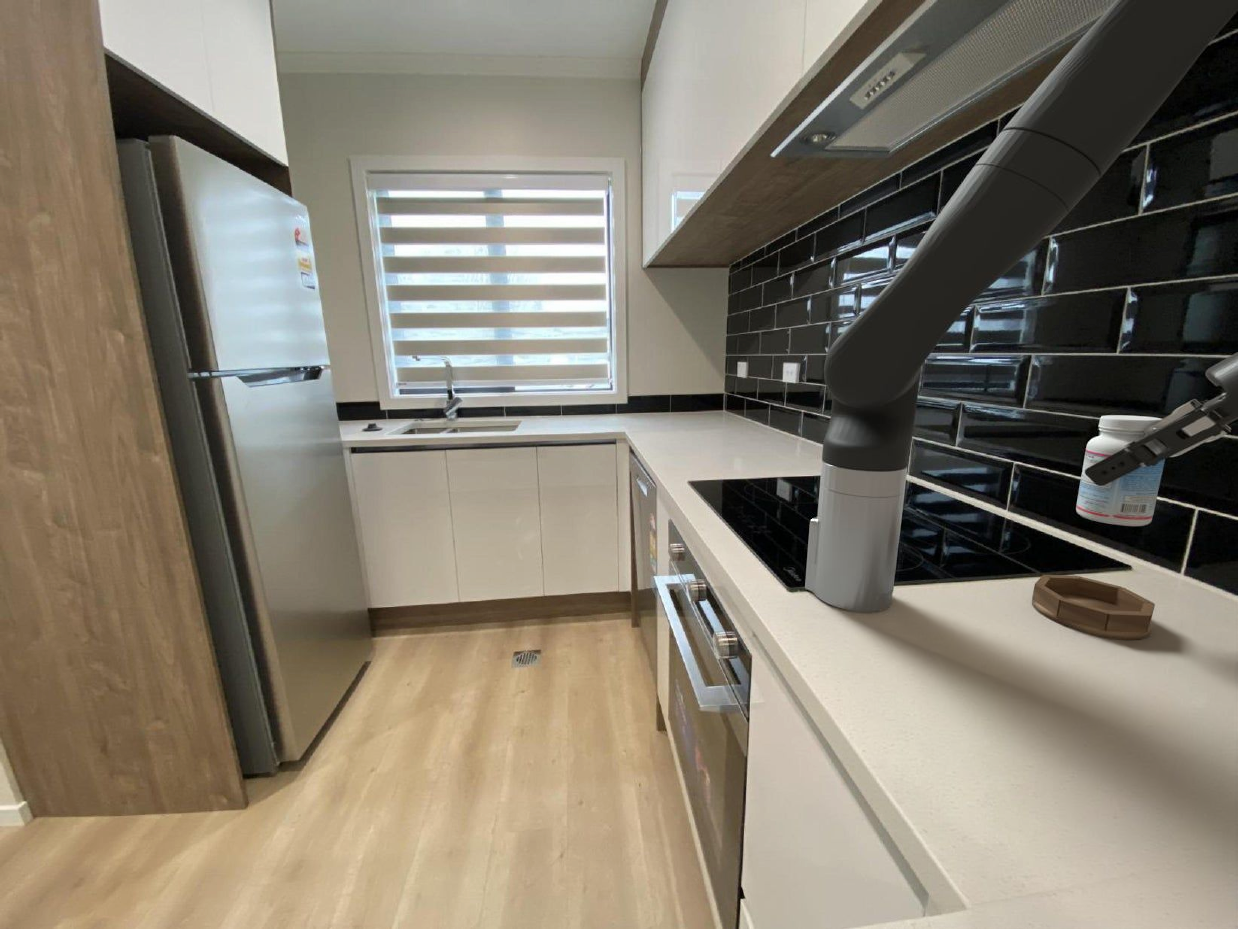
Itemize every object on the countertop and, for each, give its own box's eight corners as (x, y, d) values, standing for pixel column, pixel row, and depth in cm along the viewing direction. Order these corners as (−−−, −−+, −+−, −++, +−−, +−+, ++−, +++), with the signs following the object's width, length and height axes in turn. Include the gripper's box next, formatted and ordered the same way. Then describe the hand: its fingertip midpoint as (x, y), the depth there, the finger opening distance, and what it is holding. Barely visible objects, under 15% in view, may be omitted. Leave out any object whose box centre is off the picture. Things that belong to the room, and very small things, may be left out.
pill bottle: (1148, 517, 54) (1170, 416, 52) (1153, 532, 50) (1178, 422, 48) (1074, 507, 59) (1092, 413, 56) (1073, 519, 54) (1092, 418, 52)
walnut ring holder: (1021, 612, 58) (1025, 591, 57) (1043, 587, 64) (1047, 567, 63) (1144, 651, 50) (1150, 626, 50) (1155, 618, 56) (1160, 596, 56)
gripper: (1264, 336, 49) (1082, 440, 61) (1268, 334, 40) (1054, 455, 52) (1342, 392, 46) (1135, 490, 58) (1364, 403, 37) (1115, 515, 49)
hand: (1097, 473), depth 55 cm, fingers closed on pill bottle, 6 cm apart
